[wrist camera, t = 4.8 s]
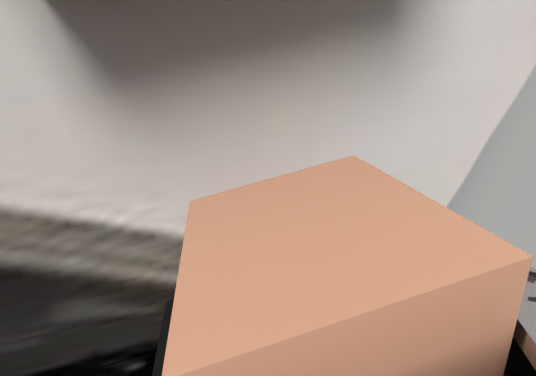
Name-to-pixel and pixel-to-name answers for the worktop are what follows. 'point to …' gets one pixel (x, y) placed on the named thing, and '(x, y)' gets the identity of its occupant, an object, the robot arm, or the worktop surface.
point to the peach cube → (340, 282)
